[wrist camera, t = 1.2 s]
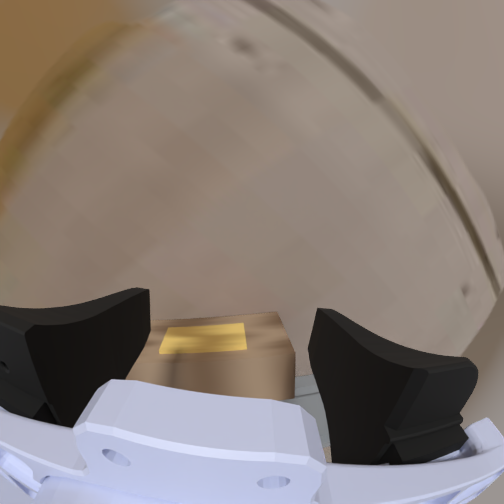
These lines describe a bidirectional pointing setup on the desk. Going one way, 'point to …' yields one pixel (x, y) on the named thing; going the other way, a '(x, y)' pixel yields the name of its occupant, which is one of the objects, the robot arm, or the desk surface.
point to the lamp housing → (220, 356)
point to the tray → (311, 404)
